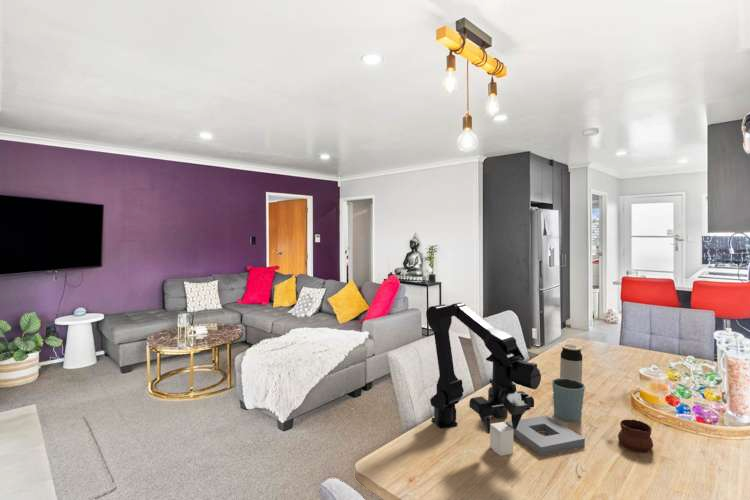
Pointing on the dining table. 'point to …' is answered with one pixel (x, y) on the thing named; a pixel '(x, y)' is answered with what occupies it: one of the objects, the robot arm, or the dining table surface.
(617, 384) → the dining table surface
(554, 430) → the socket
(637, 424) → the ceramic pot
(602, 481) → the dining table surface
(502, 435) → the plug
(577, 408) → the teal cup
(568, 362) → the travel mug
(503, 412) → the supplement bottle
